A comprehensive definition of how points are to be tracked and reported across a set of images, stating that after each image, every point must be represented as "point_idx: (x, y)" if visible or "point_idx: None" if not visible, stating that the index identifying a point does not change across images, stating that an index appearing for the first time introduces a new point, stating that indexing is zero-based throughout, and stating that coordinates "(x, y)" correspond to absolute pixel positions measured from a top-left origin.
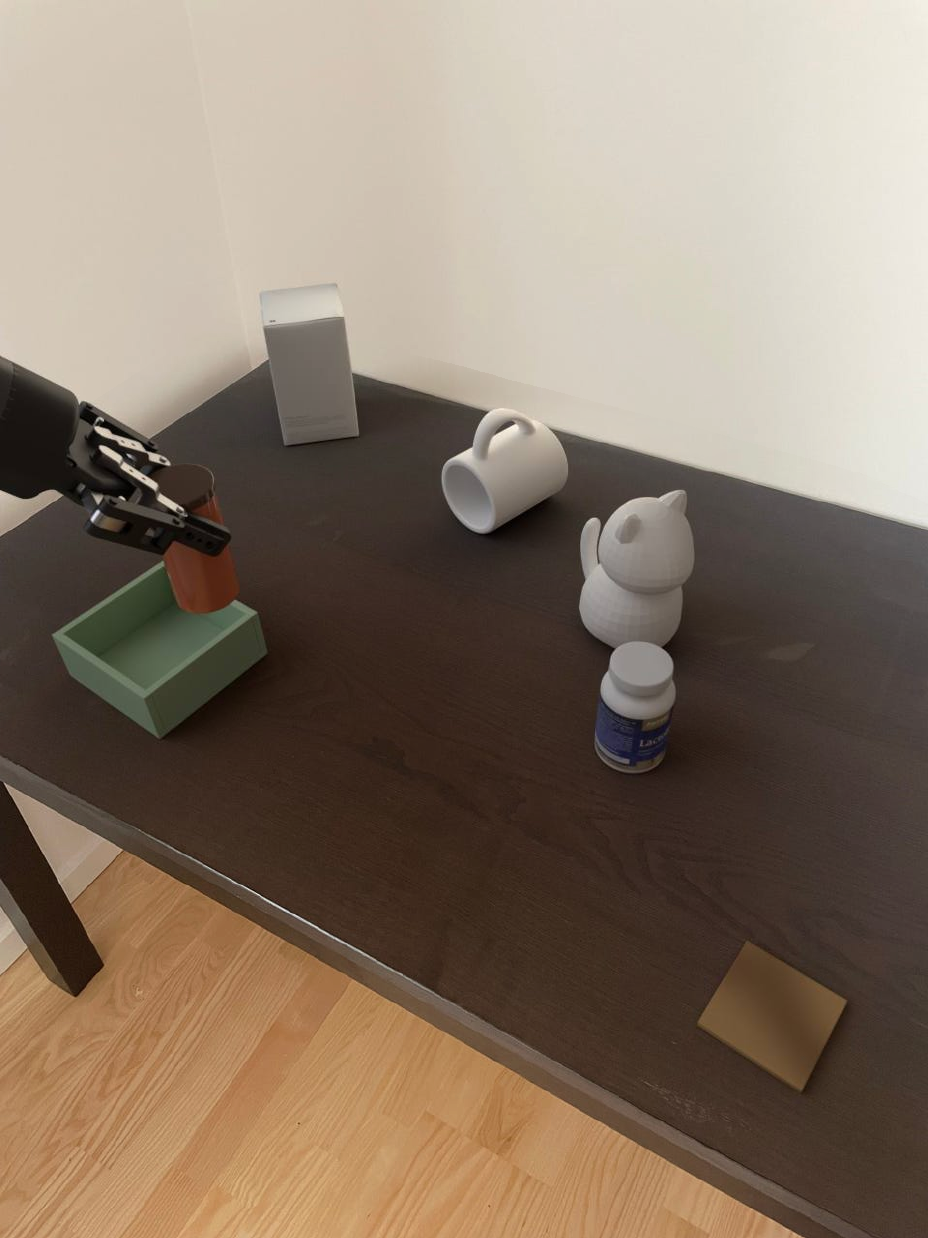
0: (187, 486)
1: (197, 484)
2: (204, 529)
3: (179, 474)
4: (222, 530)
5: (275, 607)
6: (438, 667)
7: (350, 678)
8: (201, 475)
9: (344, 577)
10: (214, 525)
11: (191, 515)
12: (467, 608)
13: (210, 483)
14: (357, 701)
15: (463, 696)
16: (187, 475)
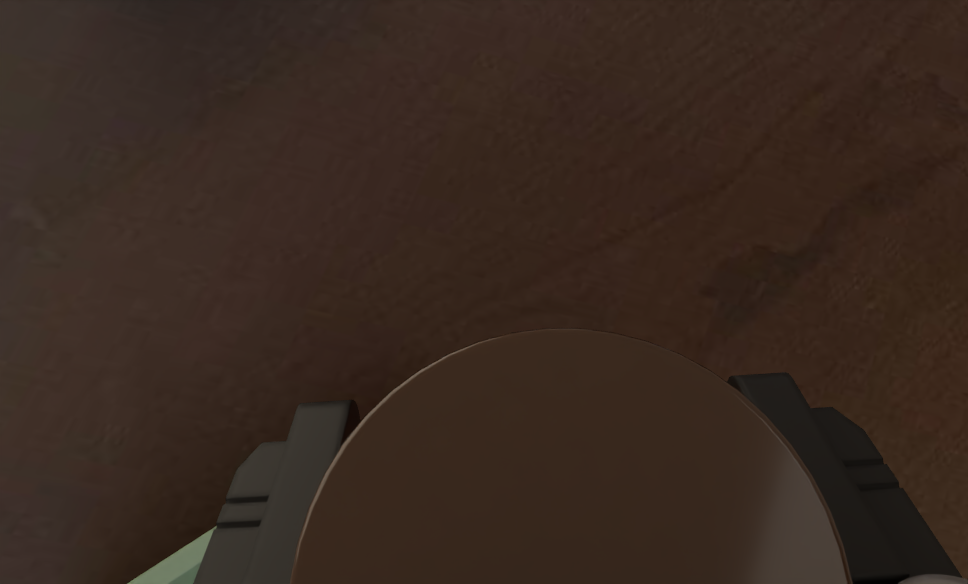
0: (633, 527)
1: (635, 450)
2: (863, 495)
3: (445, 567)
4: (804, 401)
5: (215, 412)
6: (551, 122)
7: (517, 298)
8: (524, 406)
9: (187, 235)
10: (808, 432)
11: (887, 551)
12: (404, 22)
13: (647, 358)
14: (590, 300)
15: (648, 100)
16: (481, 507)
